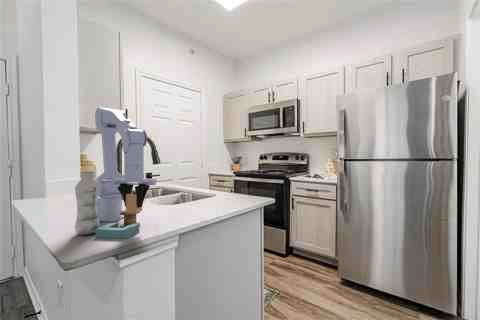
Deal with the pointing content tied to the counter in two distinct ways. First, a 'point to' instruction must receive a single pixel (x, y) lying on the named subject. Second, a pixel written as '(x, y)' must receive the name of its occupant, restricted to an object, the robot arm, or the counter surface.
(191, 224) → the counter surface
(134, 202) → the plug
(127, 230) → the notch board
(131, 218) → the bobbin
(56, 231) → the counter surface
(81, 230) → the plastic bottle
